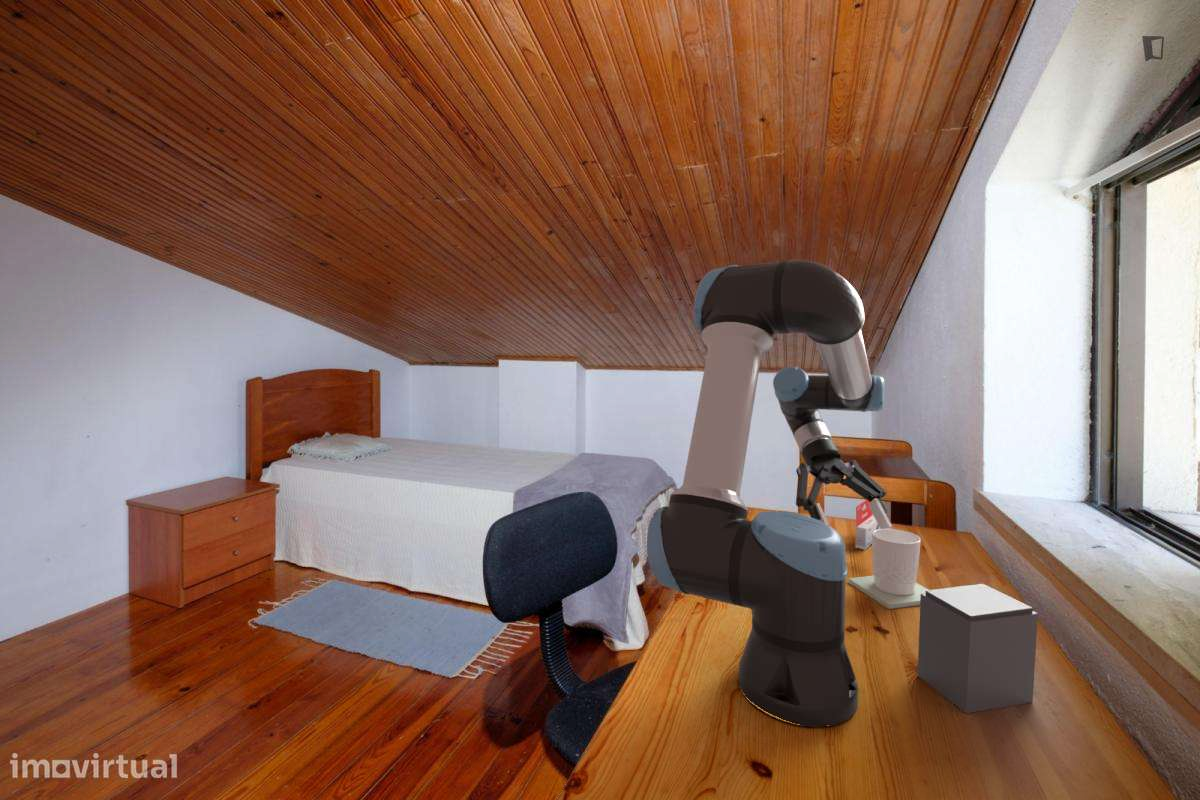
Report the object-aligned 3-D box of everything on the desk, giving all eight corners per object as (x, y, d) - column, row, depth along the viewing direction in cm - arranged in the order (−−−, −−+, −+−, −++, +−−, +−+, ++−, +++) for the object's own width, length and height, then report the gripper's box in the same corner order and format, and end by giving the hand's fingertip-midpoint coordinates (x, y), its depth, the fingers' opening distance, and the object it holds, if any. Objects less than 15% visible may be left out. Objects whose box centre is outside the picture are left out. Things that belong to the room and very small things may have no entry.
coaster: (888, 609, 94) (888, 604, 94) (848, 582, 105) (848, 578, 105) (943, 602, 96) (943, 597, 96) (898, 576, 107) (898, 572, 107)
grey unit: (966, 713, 68) (970, 618, 66) (917, 675, 76) (920, 589, 74) (1036, 701, 70) (1042, 608, 68) (981, 665, 78) (986, 581, 76)
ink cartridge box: (881, 537, 129) (882, 497, 128) (866, 551, 121) (867, 508, 120) (869, 535, 130) (870, 495, 129) (854, 548, 122) (855, 506, 121)
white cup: (879, 574, 106) (880, 525, 105) (924, 587, 101) (926, 535, 100) (864, 588, 101) (865, 536, 100) (910, 601, 95) (913, 547, 94)
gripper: (857, 452, 129) (901, 535, 116) (760, 458, 124) (794, 545, 111) (873, 434, 123) (921, 518, 110) (772, 439, 118) (809, 529, 105)
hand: (857, 532), depth 110 cm, fingers open, 13 cm apart
